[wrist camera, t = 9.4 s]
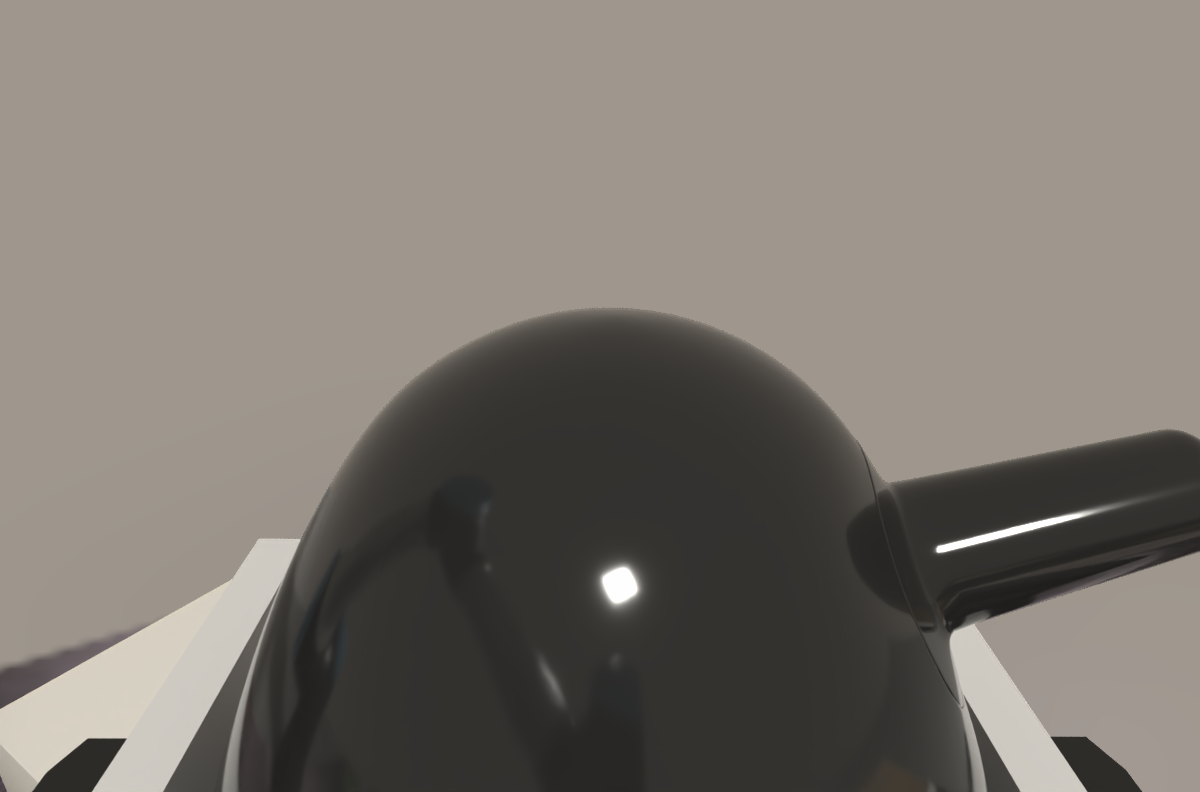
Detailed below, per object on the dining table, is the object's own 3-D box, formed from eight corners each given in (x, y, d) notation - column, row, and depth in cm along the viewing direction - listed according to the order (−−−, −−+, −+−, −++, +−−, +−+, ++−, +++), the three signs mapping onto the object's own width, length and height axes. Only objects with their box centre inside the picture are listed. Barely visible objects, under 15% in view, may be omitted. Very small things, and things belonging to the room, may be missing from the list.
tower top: (11, 802, 28) (-23, 721, 27) (356, 579, 41) (347, 514, 39) (288, 1103, 20) (264, 1013, 19) (613, 712, 33) (615, 638, 31)
